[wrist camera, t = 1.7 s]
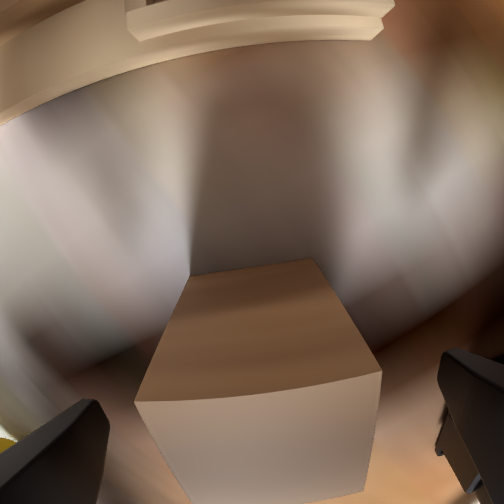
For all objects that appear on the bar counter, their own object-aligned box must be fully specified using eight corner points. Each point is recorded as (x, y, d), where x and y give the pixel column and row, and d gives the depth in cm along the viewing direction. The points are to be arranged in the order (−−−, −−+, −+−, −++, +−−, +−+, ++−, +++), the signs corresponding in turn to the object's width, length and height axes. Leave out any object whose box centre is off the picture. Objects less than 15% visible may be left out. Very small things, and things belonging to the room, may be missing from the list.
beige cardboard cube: (189, 275, 10) (133, 401, 5) (312, 257, 10) (382, 370, 4) (217, 384, 12) (203, 519, 6) (320, 370, 11) (361, 501, 6)
